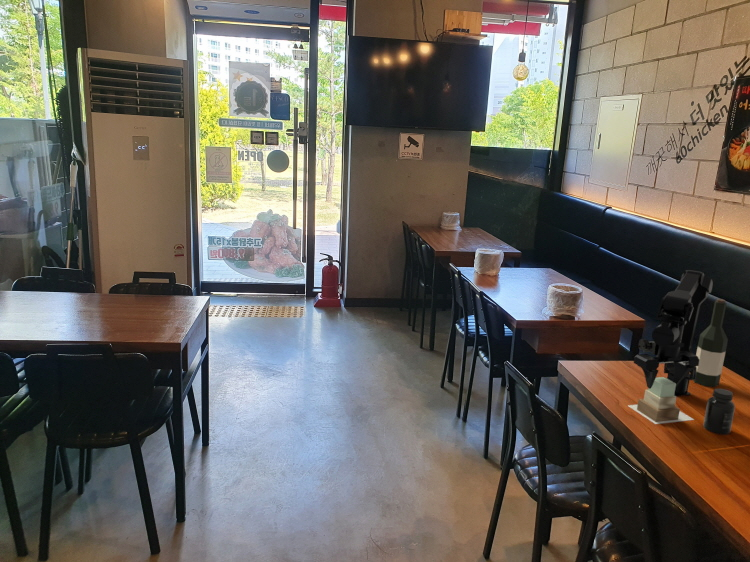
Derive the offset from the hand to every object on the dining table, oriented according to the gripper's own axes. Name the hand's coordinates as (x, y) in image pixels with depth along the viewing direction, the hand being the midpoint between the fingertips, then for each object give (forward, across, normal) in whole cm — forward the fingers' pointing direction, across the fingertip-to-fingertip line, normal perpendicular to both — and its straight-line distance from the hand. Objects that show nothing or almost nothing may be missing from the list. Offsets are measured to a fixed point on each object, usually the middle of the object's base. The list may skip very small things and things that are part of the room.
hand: (661, 386), depth 168 cm
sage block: (+2, 0, 0) cm, 2 cm away
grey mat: (+9, -2, -1) cm, 10 cm away
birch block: (+6, 0, 0) cm, 6 cm away
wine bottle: (+10, -36, -18) cm, 41 cm away
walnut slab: (+9, 0, 0) cm, 9 cm away
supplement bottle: (+10, -11, +11) cm, 18 cm away
